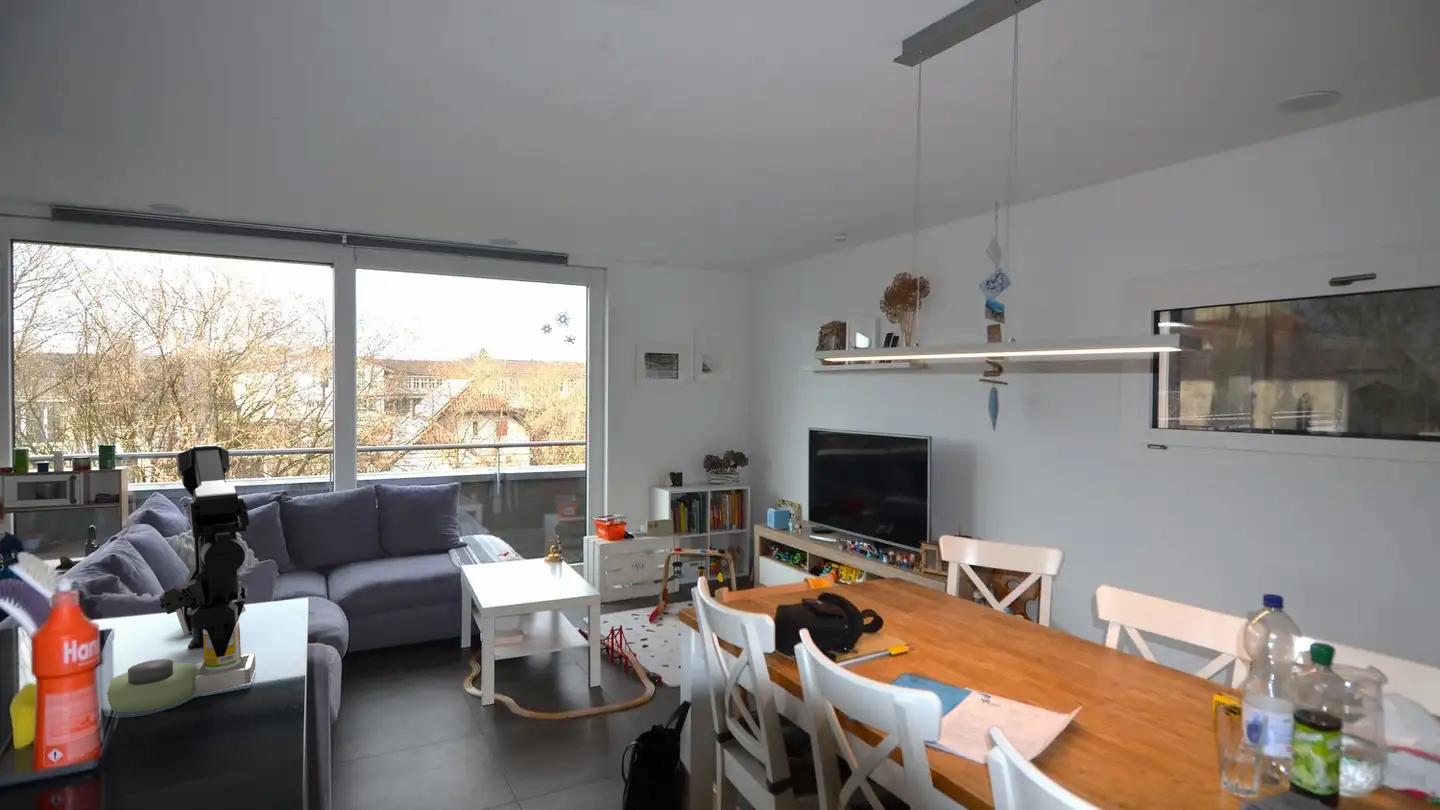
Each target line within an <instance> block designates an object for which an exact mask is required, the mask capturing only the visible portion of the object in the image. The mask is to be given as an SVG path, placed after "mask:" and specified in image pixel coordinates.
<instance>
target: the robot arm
mask: <svg viewBox="0 0 1440 810" xmlns="http://www.w3.org/2000/svg"><path fill="white" fill-rule="evenodd" d="M229 452H230V451H229V450H226V449H225V448H222V445H221V444H220V445H219V444H218V443H217V444H199V445H198V444H197V445H193V446H190V447H189V449H188V450H185V451H183V452H180V453H177V457H176V471H177V477H181V483H182V485H183V487H184V488H185V490H187V492H188V494H189V495H190V496H191V501H189V506H188V508H189V522H190V527H191V535H192V539H193V554H194V555H193V556H194V557H193V558H194V565H193V567H192V568H191V569H190V571H189V573H188V575H187V576H185V577H186V578H185V583H183V584H180V585H178V586H173V587H172V588H170V589H166V590H165V591H164V592H163V593H162V594H161V595H160V596H159V597H158V599H159V601H160V605H159V606H160V608H161V609H164V612H165V613H166V614H167V615H170V614H173V613H176V610H177V609H179V608H182V609H183V616H184V619H187V618H190V619H191V628H192V632H191V640H190V642H189V643H188V645H187V649H188V650H189V649H197V648H202V647H203V648H204V642H203V629H204V630H206V631H207V632H208V635H209V637H210V640H211V643H212V645H213V648H214V651H215V654H216V656H217V657H223V656H224V655H225V653H226V650H227V647H228V644H229V642H230V639H231V636H232V634H233V631H234V628H235V626H236V623H237V621H238V622H239V620H240V617H241V614H242V613H243V612H242V609H243V606H244V607H245V604H246V601H245V600H243V599H246V598H247V597H248V584H246V583H244V582H243V581H240V572H241V568H242V565H243V564H244V563H245V562H244V561H245V558H246V553H245V550H244V548H243V546H242V545H241V544H240V542H239V541H238V535H237V533H242V532H243V533H244V532H247V526H249V524H250V520H249V519H250V517H249V513H248V512H249V511H248V506H247V503H246V501H244V498H243V497H242V496H239V494H238V491H237V488H236V486H235V485H232V484H230V483H227V480H226V473H229V471H230V468H231V467H230V453H229ZM240 597H241V599H242V600H240V601H238V600H239V598H240ZM236 601H237V602H236ZM187 608H191V609H190V610H187ZM241 612H242V613H241Z"/></svg>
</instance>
